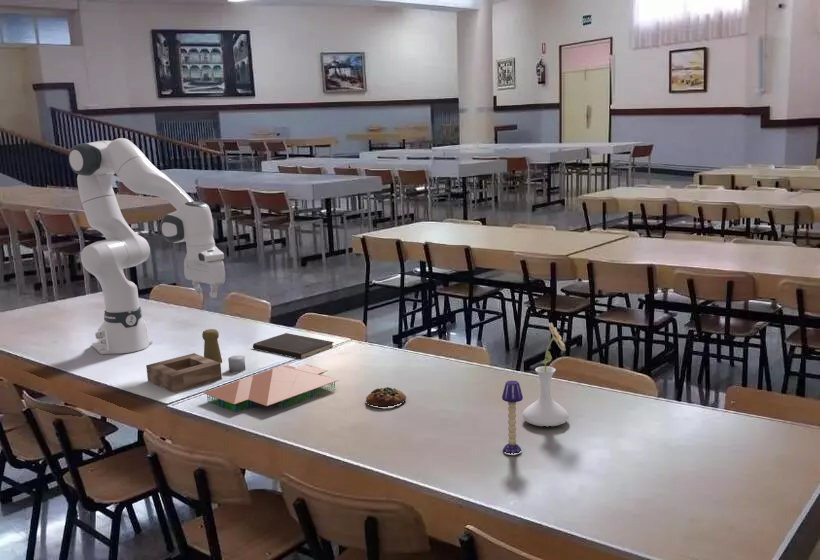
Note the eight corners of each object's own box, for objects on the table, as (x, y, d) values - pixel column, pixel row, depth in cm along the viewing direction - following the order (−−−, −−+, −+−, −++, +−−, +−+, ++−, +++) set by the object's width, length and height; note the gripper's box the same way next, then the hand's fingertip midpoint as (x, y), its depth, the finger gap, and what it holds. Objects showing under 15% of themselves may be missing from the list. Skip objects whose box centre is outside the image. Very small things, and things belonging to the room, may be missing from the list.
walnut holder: (147, 380, 238) (146, 365, 237) (195, 368, 249) (193, 353, 248) (173, 392, 227) (171, 376, 226) (221, 378, 238) (220, 363, 237)
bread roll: (376, 412, 206) (374, 393, 206) (359, 405, 216) (358, 387, 216) (413, 405, 211) (412, 387, 211) (395, 399, 221) (394, 381, 221)
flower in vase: (558, 434, 188) (558, 333, 183) (514, 425, 194) (514, 328, 189) (577, 416, 199) (578, 320, 194) (535, 408, 205) (535, 316, 200)
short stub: (226, 370, 246) (225, 358, 245) (239, 366, 250) (238, 354, 249) (234, 373, 243) (233, 361, 242) (248, 369, 246) (247, 357, 245)
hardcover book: (286, 339, 281) (286, 332, 281) (334, 348, 268) (333, 341, 267) (252, 350, 269) (252, 343, 268) (301, 360, 255) (300, 353, 255)
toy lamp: (500, 447, 181) (499, 379, 178) (520, 446, 182) (520, 378, 178) (504, 456, 177) (504, 386, 173) (525, 455, 177) (524, 385, 174)
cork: (217, 365, 251) (214, 332, 249) (200, 365, 252) (197, 332, 250) (225, 359, 257) (222, 327, 255) (208, 359, 258) (205, 327, 256)
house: (346, 388, 227) (344, 361, 225) (253, 422, 203) (251, 392, 201) (295, 373, 242) (293, 347, 240) (203, 403, 218) (201, 375, 217)
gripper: (176, 251, 252) (181, 293, 255) (208, 257, 238) (213, 301, 240) (194, 249, 257) (199, 290, 259) (226, 254, 242) (231, 297, 244)
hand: (206, 295), depth 250 cm, fingers open, 8 cm apart
